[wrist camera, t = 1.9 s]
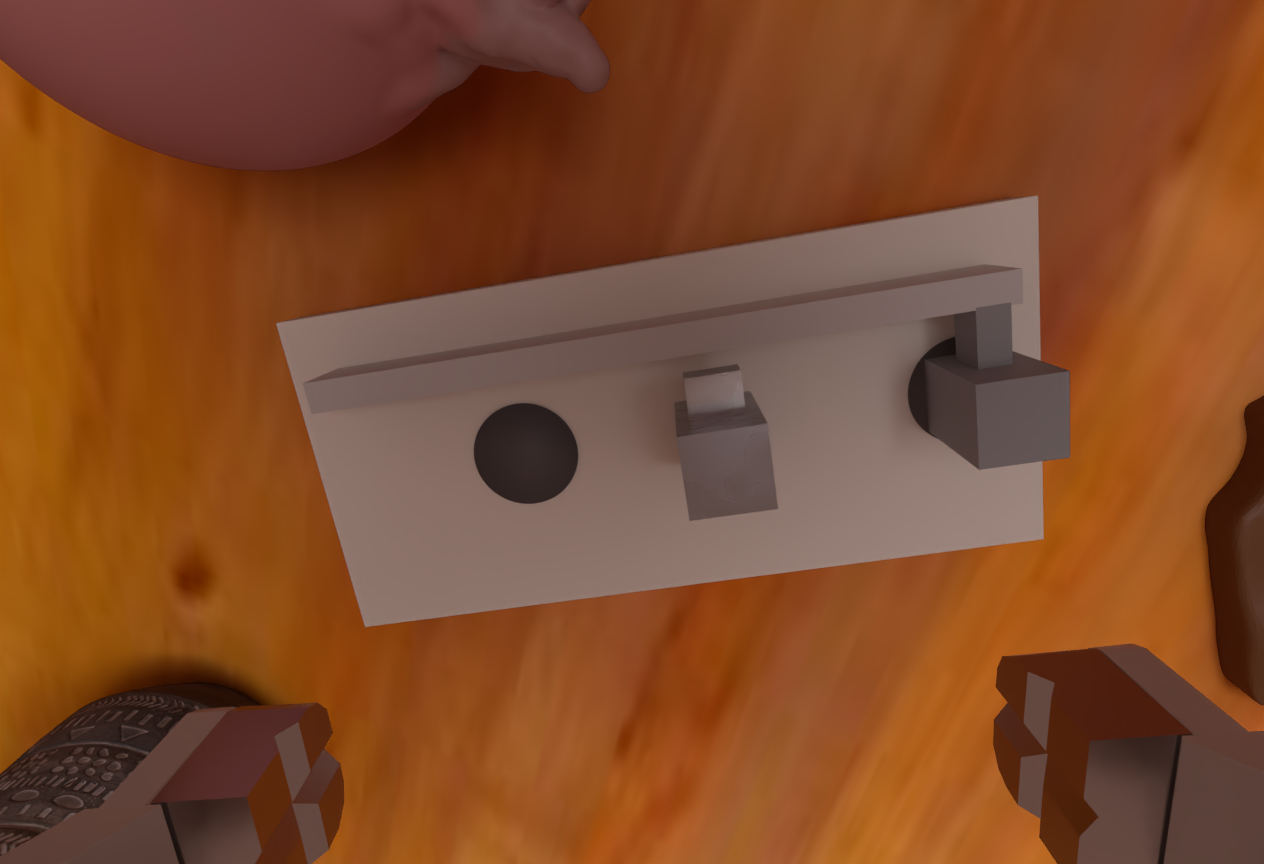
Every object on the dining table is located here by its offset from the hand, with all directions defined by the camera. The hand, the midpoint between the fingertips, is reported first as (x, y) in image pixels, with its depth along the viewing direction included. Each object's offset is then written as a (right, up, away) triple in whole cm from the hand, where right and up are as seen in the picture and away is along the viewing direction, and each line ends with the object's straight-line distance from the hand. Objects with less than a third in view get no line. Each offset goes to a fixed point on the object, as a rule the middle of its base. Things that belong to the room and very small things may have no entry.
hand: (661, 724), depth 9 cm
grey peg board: (+1, +4, +23) cm, 24 cm away
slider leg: (+3, +4, +20) cm, 21 cm away
